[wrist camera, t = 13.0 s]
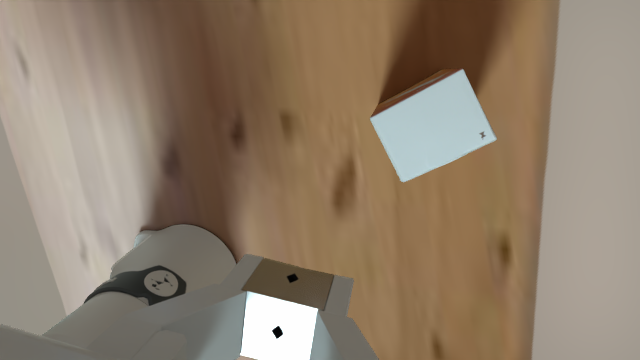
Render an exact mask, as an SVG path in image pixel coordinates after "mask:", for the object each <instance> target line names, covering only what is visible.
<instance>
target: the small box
mask: <svg viewBox="0 0 640 360" xmlns="http://www.w3.org/2000/svg"><path fill="white" fill-rule="evenodd" d="M370 120H371V122H372V124H373V126H374V128H375V130H376V132H377V134H378V136H379V138H380V140H381V142H382V144H383V146H384V148H385V150H386V152H387V154H388V156H389V158H390V160H391V162H392V164H393V166H394V168H395V170H396V172H397V174H398V176H399V178H400V180H401V181H402V182H405V181H408V180H410V179H413V178H415V177H417V176H419V175H422V174H424V173H426V172H428V171H431V170H433V169H435V168H438V167H440V166H442V165H445V164H447V163H450V162H452V161H454V160H456V159H458V158H460V157H462V156H464V155H466V154H468V153H470V152H472V151H474V150H476V149H478V148H480V147H482V146H484V145H487V144H489V143H491V142H493V141H495V140H496V139H497V137H496V136H495V134H494V132H493V130H492V128H491V126H490V124H489V122H488V120H487V118H486V116H485V114H484V111H483V109H482V107H481V105H480V103H479V101H478V99H477V97H476V95H475V93H474V91H473V89H472V87H471V85H470V82H469V80H468V78H467V76H466V74H465V72H464V69H463V68H461V69H442V70H440V71H438V72H437V73H435V74H433V75H432V76H430V77H428V78H426V79H425V80H423V81H421V82H419V83H417V84H416V85H414V86H412V87H410V88H408V89H406V90H405V91H403V92H401V93H399V94H397V95H395V96H393V97H391V98H390V99H388V100H386V101H384V102H382V103H380V104H378V105H377V107H376V109H375V111H374V112H373V114H372V116H371V117H370Z"/></svg>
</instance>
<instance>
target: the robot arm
mask: <svg viewBox="0 0 640 360" xmlns="http://www.w3.org/2000/svg"><path fill="white" fill-rule="evenodd" d="M111 270H112V272H111V275H110V280H107V281H106V282H104V283H103V284H101V285H100V286H99V287H97V289H95V290H94V292H93V293H91V294H90V295H89V296H88V297H87V299H86V300H85V302H84V304H83V305H82V306H80V307H79V308H78V309H76V310H75V311H74V312H72V313H71V314H70V315H68V316H67V317H66V318H64V319H63V320H62V321H60V322H59V323H58V324H56V325H55V326H54V327H52V328H51V329H50V330H48V331H47V332H46V333H44V334H43V335H42V336H41V335H37V334H34V333H30V332H27V331H24V330H20V329H17V328H13V327H10V326H7V325H3V324H0V360H236V359H237V358H238V357H240V354H241V355H245V356H249V357H253V358H257V359H261V360H379V359H378V357H377V356H376V354H375V353H374V351H373V349H372V348H371V346H370V345H369V343H368V342H367V340H366V339H365V337H364V336H363V334H362V333H361V331H360V330H359V328H358V326H357V325H356V323H355V322H354V320H353V319H352V318H349V317H347V313H348V308H349V303H350V297H351V292H352V287H353V282H354V280H353V278H349V277H344V276H338V275H335V276H334V275H333V274H328V273H324V272H319V271H314V270H310V269H305V268H300V267H298V266H294V265H291V264H287V263H283V262H279V261H275V260H271V259H267V258H264V257H260V256H255V255H251V254H245V255H244V256H243V257H242V258H241V260H240V261H239V262H238V263H237V264H236V262H235V260H234V257H233V255H232V254H231V252H230V251H229V249H228V248H227V247H226V245H225V244H224V243H223V242H222V241H221V240H220V239H219V238H217V237H216V236H215V235H213V234H212V233H210V232H209V231H207V230H205V229H202V228H200V227H197V226H193V225H185V224H181V225H174V226H170V227H168V228H165V229H163V230H160V231H151V230H146V231H142V232H140V233H139V234H138V235H137V236H136V238H135V243H134V248H133V249H132V250H131V251H130V252H128V253H127V254H126V255H125V256H123V257H122V258H121V259H120V260H119V261H117V262H116V263H115V264H114V265H113V266H112V268H111Z"/></svg>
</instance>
